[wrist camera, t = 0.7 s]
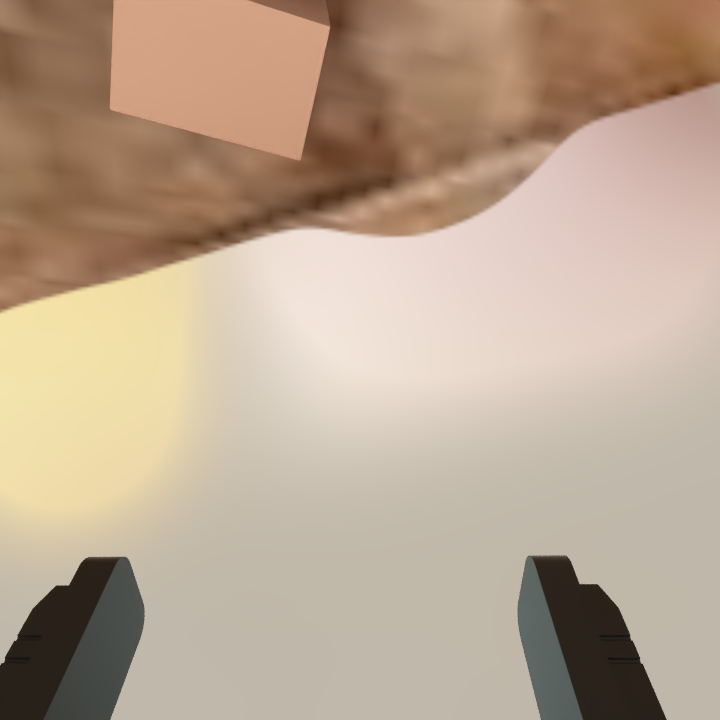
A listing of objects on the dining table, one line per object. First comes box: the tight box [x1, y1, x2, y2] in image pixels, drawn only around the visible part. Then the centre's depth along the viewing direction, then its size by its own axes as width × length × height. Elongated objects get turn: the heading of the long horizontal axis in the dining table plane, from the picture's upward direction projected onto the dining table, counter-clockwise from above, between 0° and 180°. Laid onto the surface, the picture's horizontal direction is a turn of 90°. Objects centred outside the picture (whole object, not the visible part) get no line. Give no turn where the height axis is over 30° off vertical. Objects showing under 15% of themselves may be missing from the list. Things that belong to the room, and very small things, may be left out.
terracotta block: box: [110, 0, 330, 160], centre depth 22 cm, size 6×4×12 cm, turn 74°
